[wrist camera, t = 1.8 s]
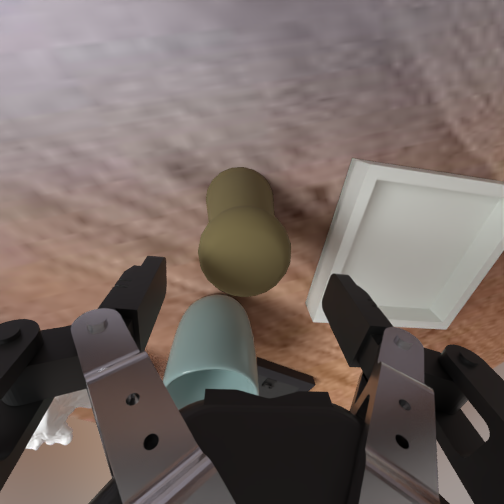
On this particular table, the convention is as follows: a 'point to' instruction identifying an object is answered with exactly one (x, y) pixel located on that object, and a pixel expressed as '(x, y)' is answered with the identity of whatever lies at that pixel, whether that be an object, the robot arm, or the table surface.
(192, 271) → the table surface
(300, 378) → the picture frame
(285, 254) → the olive rounded piece
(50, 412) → the bust
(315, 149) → the table surface
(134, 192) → the table surface
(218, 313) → the cup
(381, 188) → the tray
